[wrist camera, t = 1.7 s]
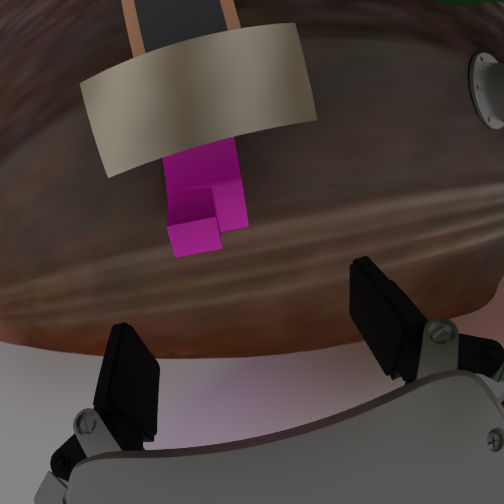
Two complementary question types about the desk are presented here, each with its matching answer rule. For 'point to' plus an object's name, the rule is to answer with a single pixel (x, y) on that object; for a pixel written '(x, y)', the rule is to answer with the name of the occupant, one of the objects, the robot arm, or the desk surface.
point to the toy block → (203, 196)
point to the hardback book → (466, 1)
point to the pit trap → (175, 21)
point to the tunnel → (198, 94)
